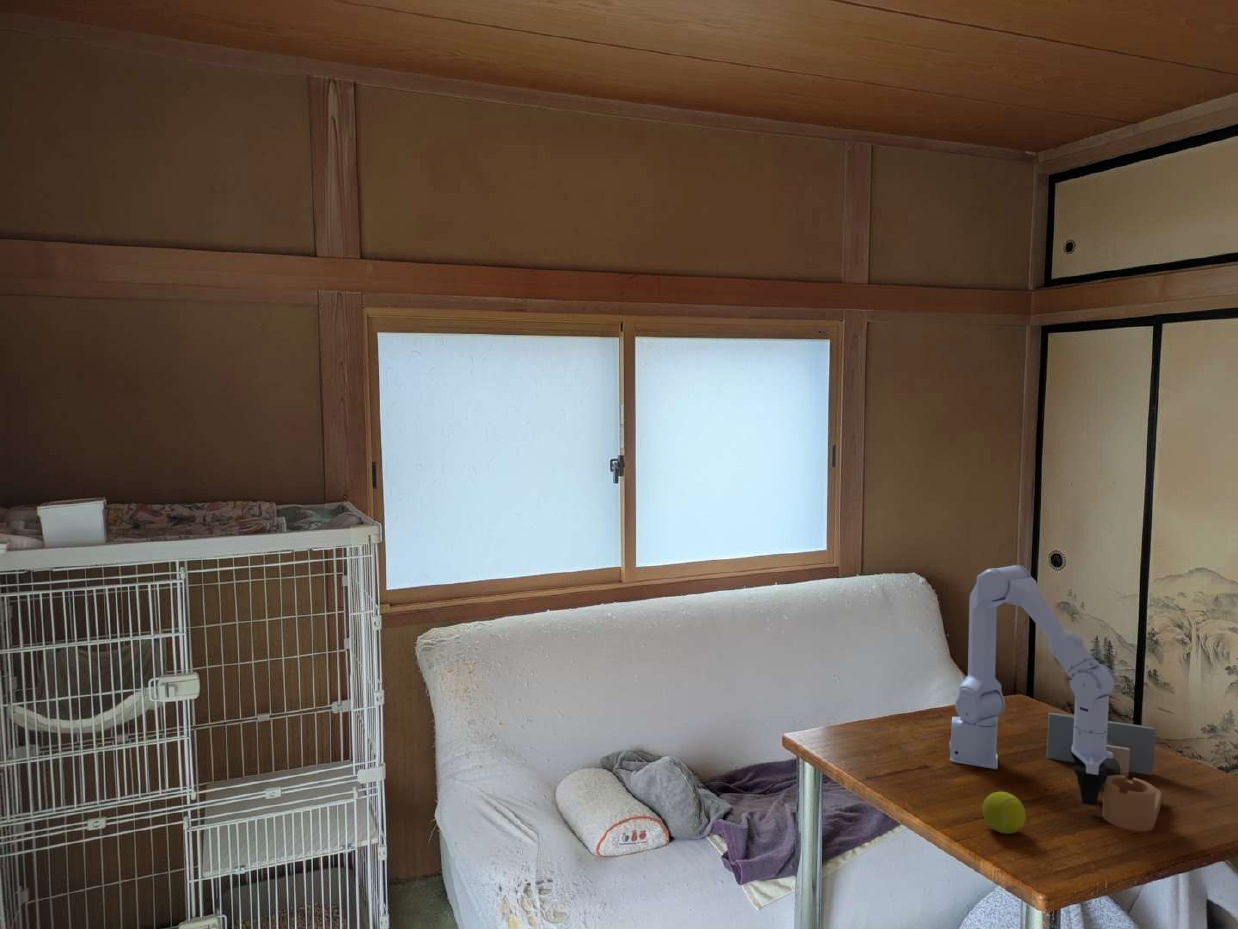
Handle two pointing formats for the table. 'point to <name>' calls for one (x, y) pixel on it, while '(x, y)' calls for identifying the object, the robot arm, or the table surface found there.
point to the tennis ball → (1003, 812)
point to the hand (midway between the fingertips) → (1086, 795)
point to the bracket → (1130, 803)
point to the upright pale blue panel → (1122, 740)
